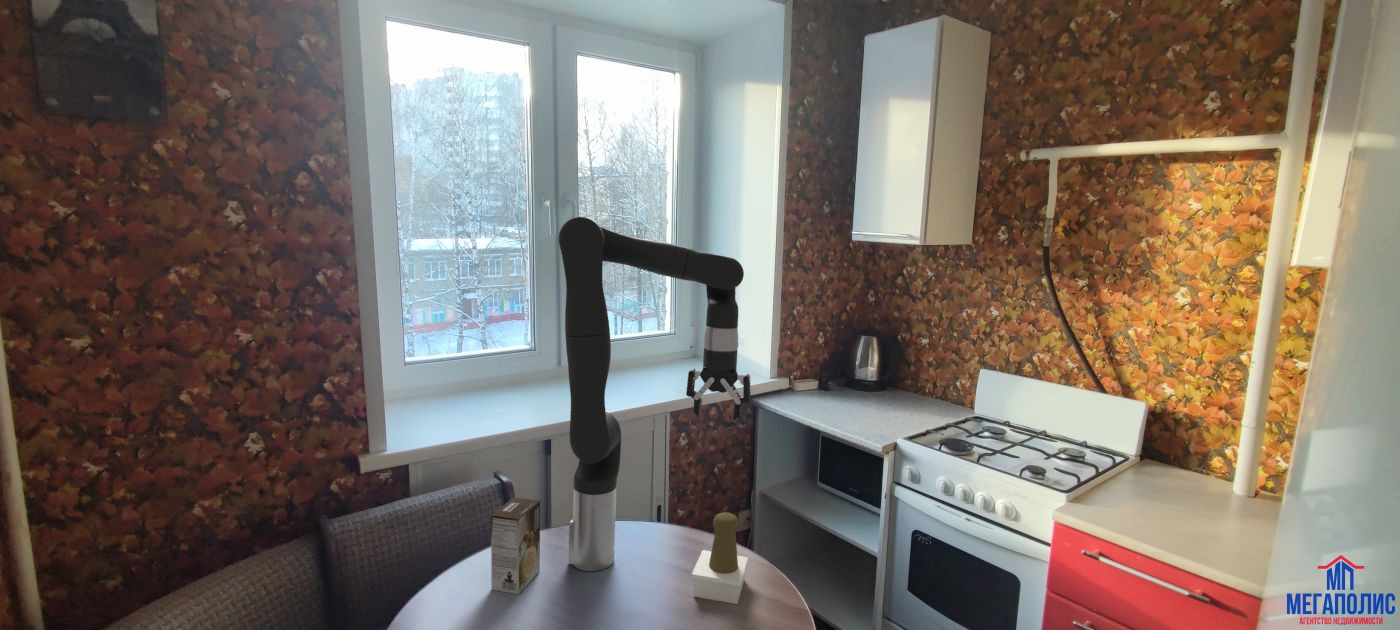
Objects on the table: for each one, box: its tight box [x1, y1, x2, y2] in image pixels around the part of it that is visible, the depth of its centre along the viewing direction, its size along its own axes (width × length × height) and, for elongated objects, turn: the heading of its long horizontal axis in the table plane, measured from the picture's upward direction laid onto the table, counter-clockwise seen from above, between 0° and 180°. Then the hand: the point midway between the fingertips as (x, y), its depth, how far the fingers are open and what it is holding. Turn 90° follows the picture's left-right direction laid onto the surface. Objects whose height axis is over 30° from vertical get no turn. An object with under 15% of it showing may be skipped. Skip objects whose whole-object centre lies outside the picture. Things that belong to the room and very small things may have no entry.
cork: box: [709, 511, 740, 574], centre depth 126 cm, size 6×6×11 cm
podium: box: [691, 549, 749, 605], centre depth 127 cm, size 10×10×5 cm
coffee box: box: [490, 497, 541, 595], centre depth 125 cm, size 9×6×16 cm
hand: (717, 417), depth 138 cm, fingers open, 8 cm apart
